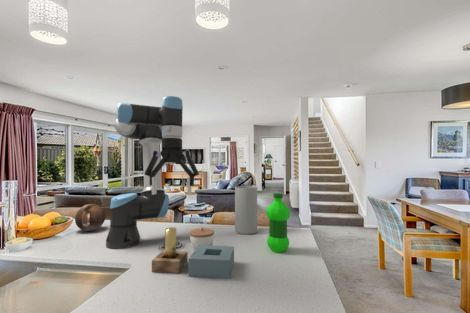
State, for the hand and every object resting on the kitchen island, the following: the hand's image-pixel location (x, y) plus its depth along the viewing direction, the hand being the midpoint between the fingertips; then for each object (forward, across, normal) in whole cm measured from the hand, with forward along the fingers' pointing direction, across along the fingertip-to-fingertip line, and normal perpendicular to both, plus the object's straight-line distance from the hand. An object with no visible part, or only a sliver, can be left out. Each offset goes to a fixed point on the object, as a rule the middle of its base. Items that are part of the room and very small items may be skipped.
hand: (171, 194), depth 93 cm
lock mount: (+27, 0, 0) cm, 27 cm away
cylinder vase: (+27, +25, +50) cm, 62 cm away
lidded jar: (+27, +7, +20) cm, 34 cm away
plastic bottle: (+27, +41, +22) cm, 54 cm away
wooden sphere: (+27, -63, +42) cm, 80 cm away
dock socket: (+27, +16, 0) cm, 31 cm away
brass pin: (+27, 0, 0) cm, 27 cm away
